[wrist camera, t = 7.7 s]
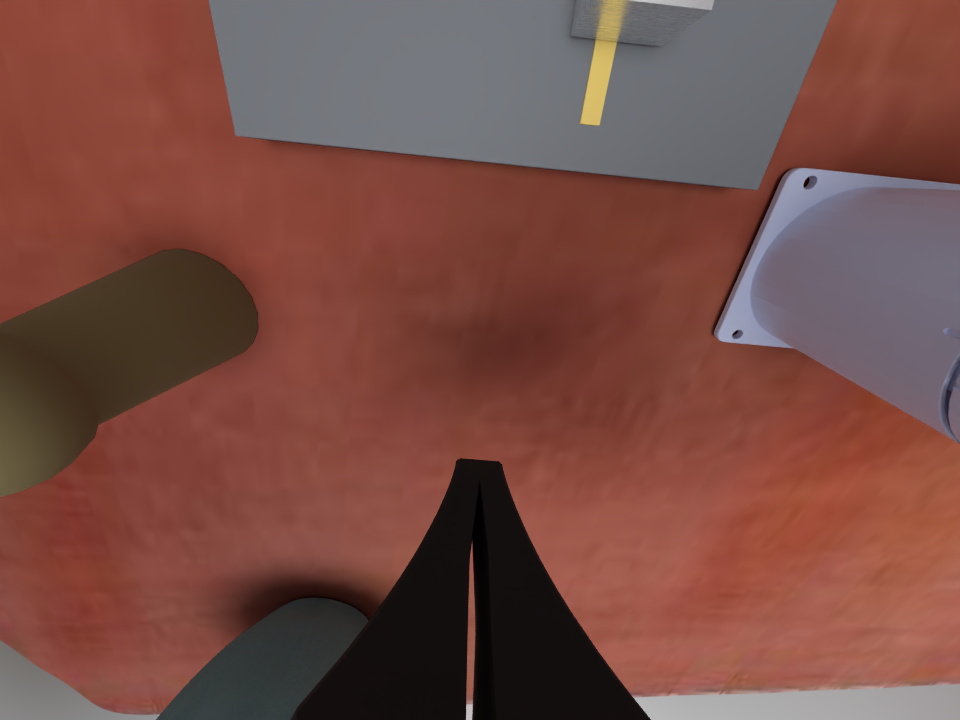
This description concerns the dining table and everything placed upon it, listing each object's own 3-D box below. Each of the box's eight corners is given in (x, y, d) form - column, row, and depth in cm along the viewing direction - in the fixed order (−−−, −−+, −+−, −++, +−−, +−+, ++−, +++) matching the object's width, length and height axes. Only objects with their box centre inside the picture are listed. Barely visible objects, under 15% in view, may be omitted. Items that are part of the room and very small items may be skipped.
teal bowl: (394, 678, 39) (359, 875, 28) (221, 646, 36) (107, 850, 25) (447, 592, 31) (425, 821, 20) (228, 541, 28) (64, 775, 17)
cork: (218, 236, 17) (-145, 325, 7) (279, 347, 20) (76, 520, 10) (110, 263, 18) (-353, 377, 8) (183, 366, 20) (-93, 545, 11)
